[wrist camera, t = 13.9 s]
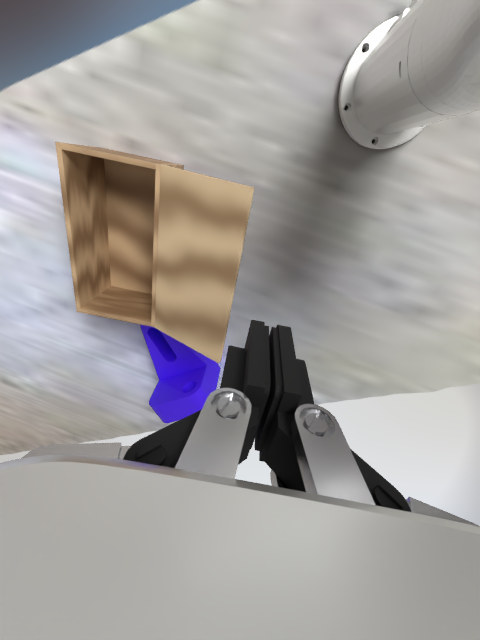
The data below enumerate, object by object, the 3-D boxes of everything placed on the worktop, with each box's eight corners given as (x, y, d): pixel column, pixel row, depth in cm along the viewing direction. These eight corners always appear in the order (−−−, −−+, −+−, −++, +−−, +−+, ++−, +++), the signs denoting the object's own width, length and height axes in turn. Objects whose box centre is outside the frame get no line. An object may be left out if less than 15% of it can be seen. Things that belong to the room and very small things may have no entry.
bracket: (220, 368, 58) (211, 411, 47) (176, 381, 60) (158, 425, 50) (177, 295, 50) (155, 328, 40) (130, 315, 53) (98, 350, 43)
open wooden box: (101, 147, 39) (55, 141, 31) (183, 165, 40) (160, 164, 31) (109, 286, 50) (76, 311, 41) (173, 299, 50) (154, 327, 42)
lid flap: (251, 187, 26) (254, 187, 27) (160, 164, 31) (164, 165, 31) (218, 363, 37) (220, 361, 38) (154, 327, 42) (157, 326, 42)
